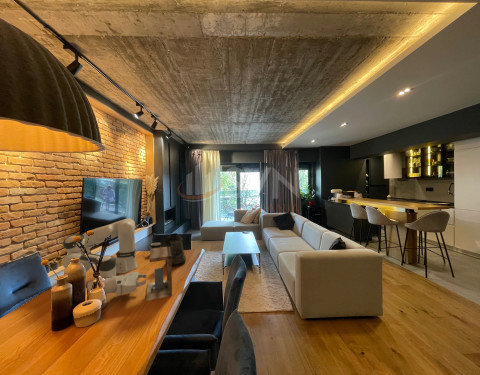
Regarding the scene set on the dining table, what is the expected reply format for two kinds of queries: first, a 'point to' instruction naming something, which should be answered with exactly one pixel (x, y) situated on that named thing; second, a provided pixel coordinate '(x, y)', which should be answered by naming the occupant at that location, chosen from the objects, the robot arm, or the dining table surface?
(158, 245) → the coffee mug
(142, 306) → the dining table surface
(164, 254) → the overhang shelf
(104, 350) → the dining table surface
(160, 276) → the grey upright block
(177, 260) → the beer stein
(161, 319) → the dining table surface
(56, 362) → the dining table surface
